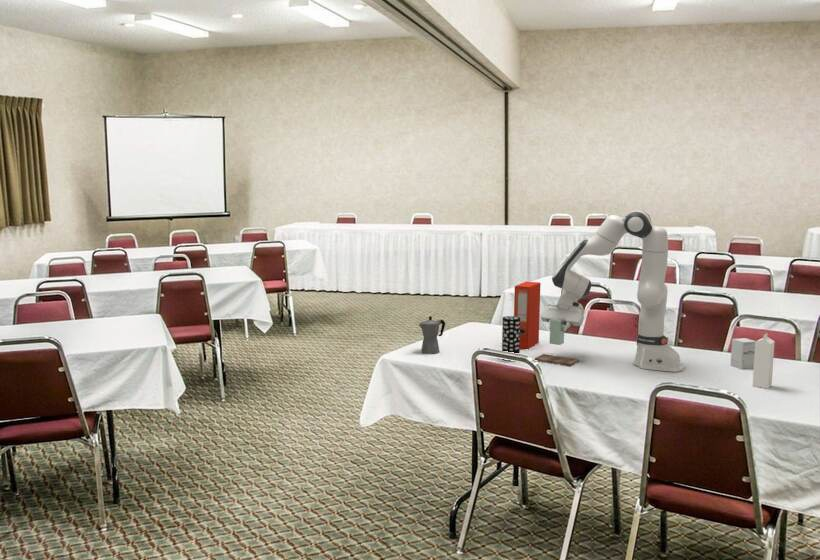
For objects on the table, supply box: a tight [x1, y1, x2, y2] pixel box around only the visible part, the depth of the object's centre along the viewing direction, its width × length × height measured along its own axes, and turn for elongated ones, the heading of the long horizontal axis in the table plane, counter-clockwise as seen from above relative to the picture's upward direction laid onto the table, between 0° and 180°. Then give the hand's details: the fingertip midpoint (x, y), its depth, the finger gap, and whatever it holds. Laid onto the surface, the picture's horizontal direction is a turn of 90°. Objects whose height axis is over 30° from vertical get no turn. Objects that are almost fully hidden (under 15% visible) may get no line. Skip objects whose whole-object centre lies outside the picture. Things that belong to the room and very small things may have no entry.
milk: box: [752, 332, 776, 389], centre depth 303 cm, size 6×6×22 cm
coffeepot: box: [418, 316, 446, 355], centre depth 365 cm, size 15×9×18 cm, turn 121°
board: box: [534, 353, 580, 367], centre depth 346 cm, size 18×10×1 cm, turn 55°
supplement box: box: [730, 337, 757, 370], centre depth 334 cm, size 7×7×13 cm
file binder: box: [513, 281, 541, 350], centre depth 376 cm, size 8×17×32 cm, turn 152°
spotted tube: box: [501, 315, 521, 362], centre depth 350 cm, size 8×8×20 cm
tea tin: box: [549, 317, 566, 346], centre depth 344 cm, size 5×5×12 cm
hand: (557, 330), depth 344 cm, fingers closed on tea tin, 5 cm apart
